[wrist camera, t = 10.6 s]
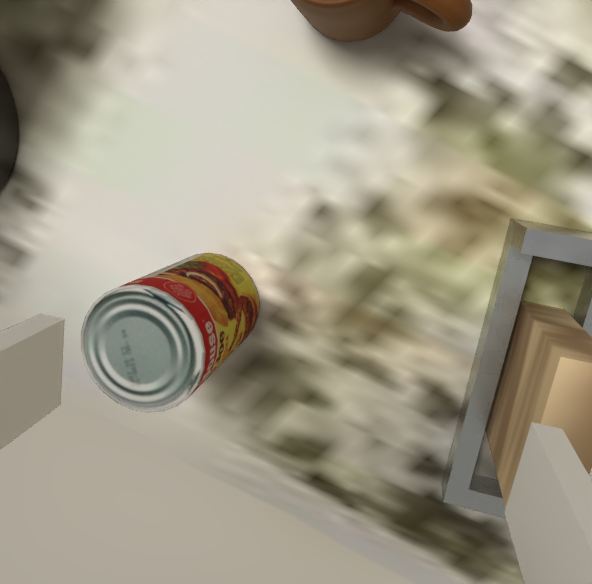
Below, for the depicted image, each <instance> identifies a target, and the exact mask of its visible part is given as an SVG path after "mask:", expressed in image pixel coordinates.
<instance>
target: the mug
mask: <svg viewBox="0 0 592 584" xmlns="http://www.w3.org/2000/svg"><path fill="white" fill-rule="evenodd" d="M291 1H292V2H293V4H294V5H295V6H296V7H297V9H298V10H299V11H300V12H301V13H302V15H303V16H304V17H305V18H306V19H307V20H308V22H309V23H310V24H311V25H312V26H313V27H314V28H315V29H317V30H318V31H319V32H321V33H322V34H324V35H326V36H328V37H330V38H333V39H336V40H341V41H358V40H362V39H366V38H369V37H371V36H373V35H375V34H377V33H379V32H380V31H382V30H383V29H384V28H386V27H387V26H388V25H389V24H390V23H391V22H392V21H393V20H394V19H395V17H396V16H397V15H398V13H399V12H400V11H402V12H405V13H407V14H409V15H411V16H413V17H414V18H416V19H418V20H420V21H422V22H424V23H426V24H428V25H430V26H432V27H434V28H437V29H440V30H443V31H447V32H450V31H458V30H460V29H462V28H463V27H465V26H466V25H467V24H468V22H469V21H470V19H471V16H472V3H471V1H470V0H291Z"/></svg>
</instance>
